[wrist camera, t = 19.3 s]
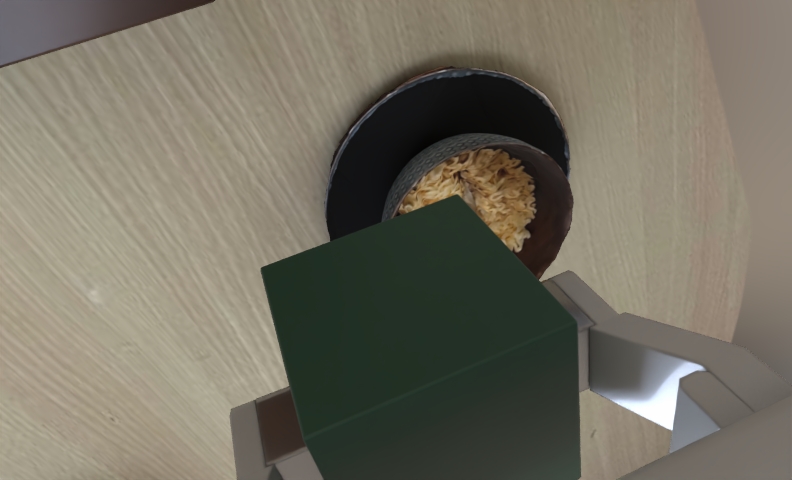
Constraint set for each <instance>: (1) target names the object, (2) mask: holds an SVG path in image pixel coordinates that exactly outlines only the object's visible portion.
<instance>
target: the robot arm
mask: <svg viewBox="0 0 792 480" xmlns="http://www.w3.org/2000/svg"><path fill="white" fill-rule="evenodd" d="M541 283H542V284H543V285H544V286H545V287H546V288H547V289H548V290H549V291H550V293H551V294H552V295H553V296H554V297H555V298H556V299H557V300H558V301H559V302H560V303H561V304H562V305H563V306H564V307H565V308H566V310H567V311H568V312H569V313H570V314H571V315H572V316H573V317H574V318H575V319H576V320H577V322H578V357H579V392H582V391H584V390H587V389H589V388H590V390H591V391H593V392H595V393H597V394H599V395H601V396H603V397H605V398H607V399H609V400H611V401H613V402H615V403H617V404H619V405H621V406H623V407H625V408H627V409H629V410H631V411H633V412H635V413H637V414H639V415H641V416H643V417H645V418H647V419H649V420H651V421H653V422H655V423H657V424H659V425H661V426H663V427H665V428H667V429H669V430H671V431H672V435H671V443H670V450H669V454H668V455H666V456H664V457H662V458H659V459H657V460H655V461H653V462H651V463H649V464H647V465H645V466H643V467H641V468H639V469H637V470H635V471H633V472H631V473H628V474H626V475H624V476H622V477H620V478H618V479H616V480H792V385H791V384H790V383H789V382H787V381H786V380H785V379H784V378H782V377H781V376H780V375H779V374H777V373H776V372H775V371H774V370H772V369H771V368H770V367H769V366H767V365H766V364H765V363H764V362H763V361H761V360H760V359H759V358H758V357H756V356H755V355H754V354H753V353H751V352H750V351H749V350H748V349H746V348H745V347H743V346H739V345H736V344H733V343H729V342H726V341H722V340H719V339H715V338H712V337H709V336H705V335H702V334H698V333H695V332H691V331H688V330H684V329H681V328H677V327H674V326H671V325H667V324H664V323H660V322H657V321H653V320H650V319H646V318H643V317H640V316H636V315H633V314H629V313H626V312H625V313H622V314H620V315H619V314H618V313H617V312H616V311H614V310H613V309H612V308H611V307H610V306H609V305H608V304H607V303H606V302H605V301H604V300H603V299H602V298H601V297H600V296H599V295H597V294H596V293H595V292H594V291H593V290H592V289H591V288H590V287H589V286H588V285H587V284H586V283H585V282H584V281H583V280H582V279H580V278H579V277H578V276H577V275H576V274H575V273H574V272H572V271H569V270H568V271H566V272H563V273H561V274H559V275H556V276H554V277H552V278H549V279H548V280H544V281H542V282H541ZM230 424H231V432H232V440H233V449H234V457H235V465H236V474H237V480H323V478H322V476H321V474H320V472H319V470H318V468H317V466H316V464H315V462H314V460H313V458H312V456H311V454H310V452H309V450H308V448H307V446H306V445H305V443H304V441H303V438H302V434H301V430H300V426H299V422H298V418H297V414H296V410H295V406H294V402H293V398H292V394H291V390H290V386H288V387H286V388H283V389H280V390H278V391H275V392H273V393H270V394H267V395H265V396H262V397H260V398H257V399H256V400H253V401H250V402H248V403H245V404H243V405H240V406H237V407H235V408H232V409H231V412H230Z"/></svg>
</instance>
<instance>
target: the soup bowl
mask: <svg viewBox="0 0 792 480" xmlns="http://www.w3.org/2000/svg"><path fill="white" fill-rule="evenodd" d="M569 161H570V153H569V140H568V137H567V134H566V131H565V128H564V125H563V123H562V119H561V118H560V116H559V114H558V112H557V111H556V108H555V107H554V106H553V105H552V103H551V101H550V100H549V99H548V97H546V95H545V94H544V93H543V92H542V91H540V90H538V89H536V88H534V87H532V86H531V85H529V84H528V83H526V82H525V81H523V80H521V79H518V78H515V77H514V76H510V75H507V74H506V73H504V72H498V71H496V70H495V71H488V70H484V69H480V68H479V69H477V68H476V69H474V68H455V67H452V66H451V67H439V68H437V69H434V70H430V71H427V72H425V73H423V74H420V75H417V76H415V77H413V78H411V79H409V80H408V81H407V82H406V83H402V84H400V85H399V86H398V87H396V88H395V89H394V90H392V91H391V92H390V93H385V94H383V95H382V96H381V97H380V98H379V99H378V100H377V101H376V102H375V103H374V104H370V105H369V106H368V108H367V109H366V110H365V111H364V112H363V113H362V114H361V115H360V116H359V117H358V118H357V120H356V121H355V122H354V123H353V124H352V125H351V127H350V128H349V130H348V132H347V133H346V135H345V136H344V137H343V139H342V140H341V141H340V144H339V146H338V148H337V150H336V151H335V153H334V155H333V161H332V163H331V170H330V177H329V182H328V187H327V190H326V200H325V217H326V219H327V221H326V222H327V227H328V232H329V235H330V241H333V240H336V239H338V238H341V237H344V236H346V235H349V234H352V233H354V232H357V231H360V230H362V229H365V228H368V227H370V226H373V225H376V224H378V223H381V222H384V221H386V220H389V219H392V218H394V217H397V216H400V215H402V214H405V213H408V212H410V211H413V210H416V209H418V208H421V207H424V206H426V205H429V204H432V203H434V202H437V201H440V200H442V199H445V198H448V197H450V196H453V195H456V194H458V195H459V196H460V197H461V198H462V199H463V200H464V201H465V202H466V203H467V204H468V205H469V206H470V207H471V208H472V209H473V211H474V212H475V213H476V214H477V215H478V216H479V217H480V218H481V219H482V220H483V221H484V222H485V223H486V224H487V225H488V227H489V228H490V229H491V230H492V231H493V232H494V233H495V234H496V235H497V236H498V237H499V238H500V239H501V240H502V241H503V242H504V244H505V245H506V246H507V247H508V248H509V249H510V250H511V251H512V252H513V253H514V254H515V255H516V256H517V257H518V258H519V260H520V261H521V262H522V263H523V264H524V265H525V266H526V267H527V268H528V269H529V270H530V271H531V272H532V273H533V274H534V275H535V277H536V278H537V279H538V280H539V279H540V278H541V276H542V275H543V273H544V272H545V270H546V269H547V268H548V267H549V266H550V265H551V263H552V262H553V261H554V260H555V258H556V256H557V254H558V252H559V250H560V247H561V245H562V242H563V241H564V239H565V237H566V235H567V233H568V231H569V230H570V225H571V221H572V209H573V204H574V202H573V196H572V192H571V188H570V184H569V178H570V169H571V168H570V166H569Z"/></svg>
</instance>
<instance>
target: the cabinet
mask: <svg viewBox="0 0 792 480" xmlns="http://www.w3.org/2000/svg"><path fill="white" fill-rule="evenodd" d="M214 1H215V0H0V68H2V67H6V66H9V65H12V64H15V63H18V62H22V61H25V60H28V59H31V58H35V57H38V56H41V55H44V54H47V53H51V52H54V51H57V50H60V49H64V48H67V47H70V46H73V45H76V44H80V43H83V42H86V41H89V40H93V39H96V38H99V37H102V36H106V35H109V34H112V33H115V32H118V31H122V30H125V29H128V28H131V27H135V26H138V25H141V24H144V23H147V22H151V21H154V20H157V19H160V18H164V17H167V16H170V15H173V14H176V13H180V12H183V11H186V10H189V9H193V8H196V7H199V6H202V5H205V4H209V3H212V2H214Z"/></svg>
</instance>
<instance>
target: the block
mask: <svg viewBox="0 0 792 480" xmlns="http://www.w3.org/2000/svg"><path fill="white" fill-rule="evenodd" d="M261 274H262V278H263V282H264V286H265V290H266V294H267V298H268V302H269V306H270V310H271V314H272V318H273V322H274V326H275V330H276V334H277V338H278V342H279V346H280V350H281V354H282V358H283V362H284V366H285V370H286V374H287V378H288V382H289V386H290V390H291V394H292V398H293V402H294V406H295V410H296V414H297V418H298V422H299V426H300V430H301V434H302V438H303V441H304V443H305V445H306V446H307V448H308V450H309V452H310V454H311V456H312V458H313V460H314V462H315V464H316V466H317V468H318V470H319V472H320V474H321V476H322V478H323V480H577V479H579V478H580V477H581V456H580V406H579V357H578V322H577V320H576V319H575V318H574V317H573V316H572V315H571V314H570V313H569V312H568V311H567V310H566V308H565V307H564V306H563V305H562V304H561V303H560V302H559V301H558V300H557V299H556V298H555V297H554V296H553V295H552V294H551V293H550V291H549V290H548V289H547V288H546V287H545V286H544V285H543V284H542V283H541V282H540V281H539V280H538V279H537V278H536V277H535V275H534V274H533V273H532V272H531V271H530V270H529V269H528V268H527V267H526V266H525V265H524V264H523V263H522V262H521V261H520V260H519V258H518V257H517V256H516V255H515V254H514V253H513V252H512V251H511V250H510V249H509V248H508V247H507V246H506V245H505V244H504V242H503V241H502V240H501V239H500V238H499V237H498V236H497V235H496V234H495V233H494V232H493V231H492V230H491V229H490V228H489V227H488V225H487V224H486V223H485V222H484V221H483V220H482V219H481V218H480V217H479V216H478V215H477V214H476V213H475V212H474V211H473V209H472V208H471V207H470V206H469V205H468V204H467V203H466V202H465V201H464V200H463V199H462V198H461V197H460V196H459V195H458V194H456V195H453V196H450V197H448V198H445V199H442V200H440V201H437V202H434V203H432V204H429V205H426V206H424V207H421V208H418V209H416V210H413V211H410V212H408V213H405V214H402V215H400V216H397V217H394V218H392V219H389V220H386V221H384V222H381V223H378V224H376V225H373V226H370V227H368V228H365V229H362V230H360V231H357V232H354V233H352V234H349V235H346V236H344V237H341V238H338V239H336V240H333V241H330V242H328V243H325V244H322V245H320V246H317V247H314V248H312V249H309V250H306V251H304V252H301V253H298V254H296V255H293V256H290V257H288V258H285V259H282V260H280V261H277V262H274V263H272V264H269V265H266V266H264V267H262V268H261Z"/></svg>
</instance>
